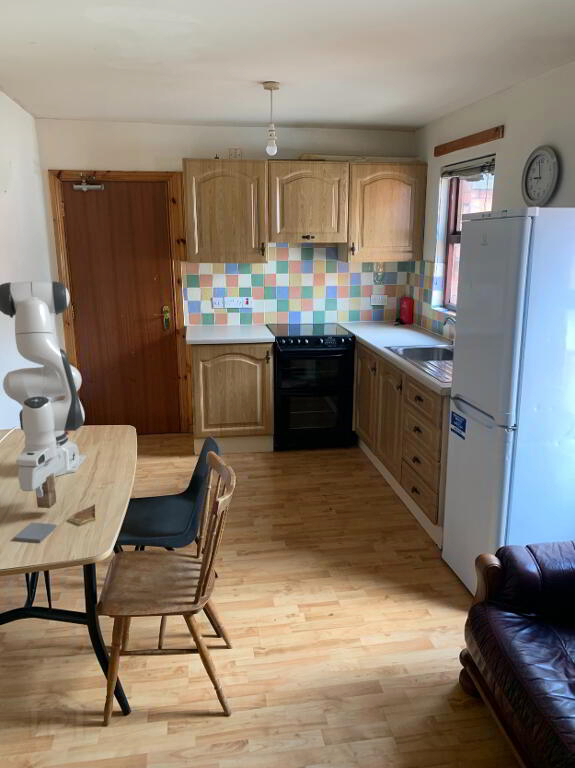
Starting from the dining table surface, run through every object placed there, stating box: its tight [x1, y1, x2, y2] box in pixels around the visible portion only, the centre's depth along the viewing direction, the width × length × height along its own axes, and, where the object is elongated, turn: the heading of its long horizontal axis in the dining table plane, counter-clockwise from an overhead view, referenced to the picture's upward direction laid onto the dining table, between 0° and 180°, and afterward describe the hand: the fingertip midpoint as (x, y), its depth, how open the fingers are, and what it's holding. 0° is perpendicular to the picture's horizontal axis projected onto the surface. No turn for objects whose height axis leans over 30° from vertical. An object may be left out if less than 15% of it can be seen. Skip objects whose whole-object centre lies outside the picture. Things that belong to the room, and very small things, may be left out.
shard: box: [67, 504, 96, 526], centre depth 181 cm, size 11×8×2 cm
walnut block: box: [35, 473, 57, 509], centre depth 180 cm, size 4×4×10 cm
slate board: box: [13, 522, 58, 544], centre depth 170 cm, size 2×8×9 cm
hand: (45, 492), depth 181 cm, fingers closed on walnut block, 4 cm apart
